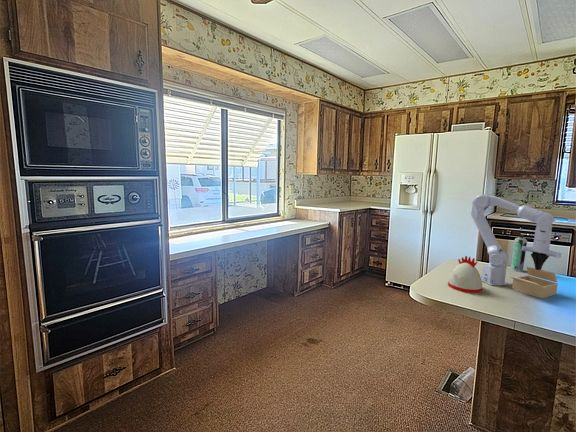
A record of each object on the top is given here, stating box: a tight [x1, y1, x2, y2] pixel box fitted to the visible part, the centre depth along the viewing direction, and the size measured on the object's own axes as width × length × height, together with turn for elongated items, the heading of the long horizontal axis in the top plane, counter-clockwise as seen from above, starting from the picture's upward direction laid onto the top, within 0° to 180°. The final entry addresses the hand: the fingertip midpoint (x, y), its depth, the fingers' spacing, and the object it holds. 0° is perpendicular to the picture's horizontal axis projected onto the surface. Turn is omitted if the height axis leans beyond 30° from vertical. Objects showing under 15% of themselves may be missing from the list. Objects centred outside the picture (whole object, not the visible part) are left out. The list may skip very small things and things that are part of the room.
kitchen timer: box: [447, 255, 483, 294], centre depth 146 cm, size 14×14×15 cm
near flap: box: [507, 274, 542, 287], centre depth 139 cm, size 6×11×1 cm, turn 27°
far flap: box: [526, 265, 558, 283], centre depth 145 cm, size 6×11×1 cm
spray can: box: [510, 234, 528, 273], centre depth 174 cm, size 6×6×20 cm
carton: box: [511, 274, 559, 300], centre depth 144 cm, size 12×12×5 cm
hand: (538, 269), depth 143 cm, fingers closed
